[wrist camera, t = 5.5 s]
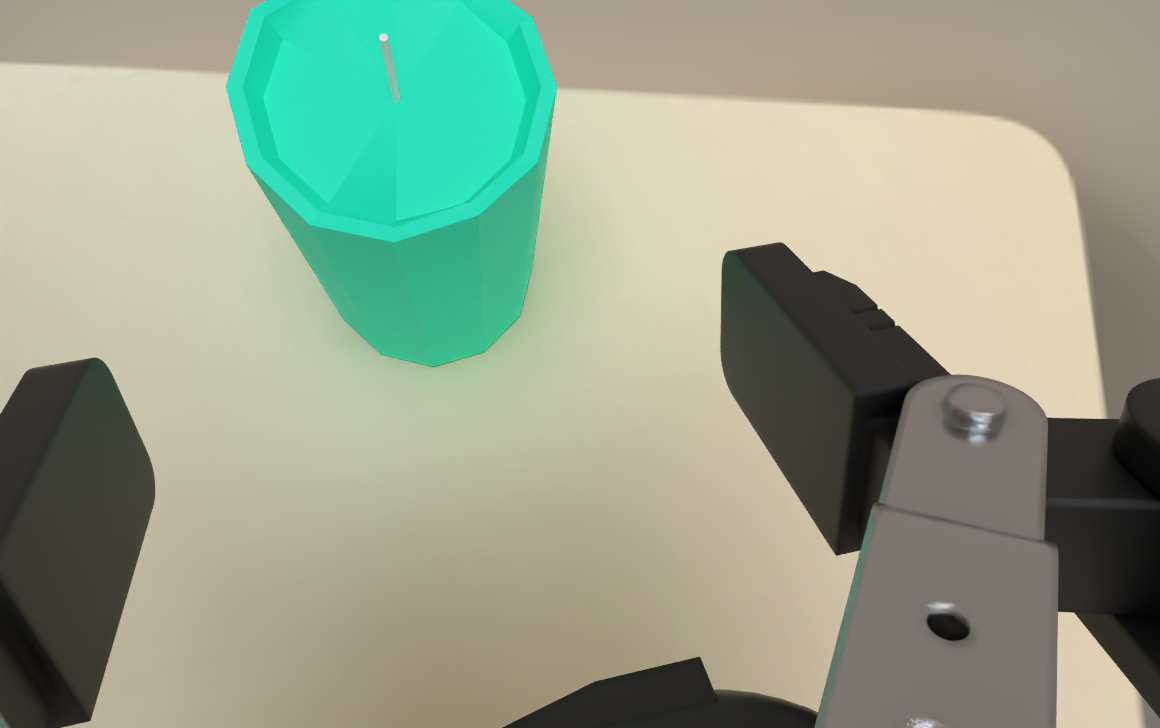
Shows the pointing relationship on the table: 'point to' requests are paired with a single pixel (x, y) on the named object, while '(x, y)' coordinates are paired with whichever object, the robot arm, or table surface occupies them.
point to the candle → (402, 158)
